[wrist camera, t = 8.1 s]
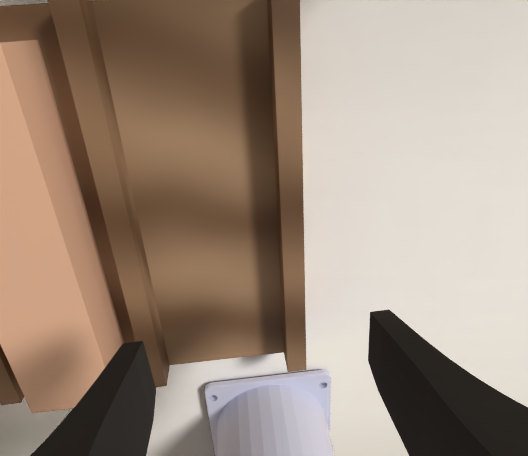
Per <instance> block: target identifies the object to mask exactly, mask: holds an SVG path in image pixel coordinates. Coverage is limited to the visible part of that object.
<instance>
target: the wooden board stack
mask: <svg viewBox="0 0 528 456" xmlns="http://www.w3.org/2000/svg"><path fill="white" fill-rule="evenodd" d="M48 1H49V3H44V4H27V5H11V6H0V43H1V42H15V41H28V40H38V41H39V45H40V48H41V52H42V55H43V59H44V62H45V66H46V69H47V73H48V77H49V80H50V84H51V87H52V91H53V94H54V98H55V101H56V105H57V108H58V112H59V115H60V119H61V122H62V126H63V129H64V133H65V136H66V140H67V143H68V147H69V150H70V154H71V157H72V161H73V164H74V168H75V171H76V175H77V178H78V182H79V185H80V189H81V192H82V196H83V199H84V203H85V206H86V210H87V213H88V217H89V221H90V224H91V228H92V231H93V235H94V238H95V242H96V245H97V249H98V252H99V256H100V259H101V263H102V266H103V270H104V273H105V277H106V280H107V284H108V287H109V291H110V294H111V298H112V301H113V305H114V308H115V312H116V315H117V319H118V322H119V326H120V329H121V333H122V336H123V340H124V343H129V342H137V341H143V343H144V346H145V350H146V354H147V357H148V361H149V365H150V368H151V372H152V376H153V379H154V383H155V387H161V386H166V385H167V379H168V372H169V365H174V364H183V363H192V362H201V361H210V360H219V359H228V358H237V357H245V356H254V355H263V354H272V353H281V352H284V355H285V360H286V365H287V370H288V372H291V371H299V370H306V331H305V274H304V217H303V160H302V103H301V46H300V0H93V1H91V0H48ZM23 398H24V394H23V392H22V390H21V388H20V386H19V384H18V381H17V379H16V377H15V375H14V373H13V371H12V368H11V366H10V364H9V362H8V360H7V357H6V355H5V353H4V351H3V349H2V347H1V344H0V404H1V405H5V404H14V403H21V402H22V400H23Z"/></svg>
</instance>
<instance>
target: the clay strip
mask: <svg viewBox="0 0 528 456" xmlns="http://www.w3.org/2000/svg"><path fill="white" fill-rule="evenodd" d="M123 343H124V340H123V336H122V333H121V329H120V326H119V322H118V319H117V315H116V312H115V308H114V305H113V301H112V298H111V294H110V291H109V287H108V284H107V280H106V277H105V273H104V270H103V266H102V263H101V259H100V256H99V252H98V249H97V245H96V242H95V238H94V235H93V231H92V228H91V224H90V221H89V217H88V213H87V210H86V206H85V203H84V199H83V196H82V192H81V189H80V185H79V182H78V178H77V175H76V171H75V168H74V164H73V161H72V157H71V154H70V150H69V147H68V143H67V140H66V136H65V133H64V129H63V126H62V122H61V119H60V115H59V112H58V108H57V105H56V101H55V98H54V94H53V91H52V87H51V84H50V80H49V77H48V73H47V69H46V66H45V62H44V59H43V55H42V52H41V48H40V45H39V41H38V40H28V41H15V42H1V43H0V344H1V347H2V349H3V351H4V353H5V355H6V357H7V360H8V362H9V364H10V366H11V368H12V371H13V373H14V375H15V377H16V379H17V381H18V384H19V386H20V388H21V390H22V392H23V394H24V397H25V399H26V401H27V403H28V405H29V408H30V410H31V412H32V413H37V412H45V411H54V410H62V409H70V408H74V407H75V406H76V405H77V403H78V402H79V401H80V400H81V399H82V397H83V396H84V395H85V393H86V392H87V391H88V390H89V388H90V387H91V386H92V384H93V383H94V382H95V380H96V379H97V378H98V376H99V375H100V374H101V372H102V371H103V370H104V368H105V367H106V366H107V364H108V363H109V361H110V360H111V359H112V357H113V356H114V355H115V353H116V352H117V350H118V349H119V348H120V346H121V345H122V344H123Z"/></svg>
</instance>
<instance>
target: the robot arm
mask: <svg viewBox="0 0 528 456" xmlns="http://www.w3.org/2000/svg"><path fill="white" fill-rule="evenodd" d="M368 361H369V364H370V367H371V371H372V374H373V377H374V380H375V382H376V385H377V388H378V391H379V393H380V395H381V397H382V399H383V402H384V404H385V406H386V408H387V410H388V412H389V414H390V416H391V418H392V421H393V423H394V425H395V427H396V429H397V431H398V433H399V435H400V437H401V439H402V441H403V443H404V446H405V448H406V450H407V452H408V454H409V456H528V407H526V406H524V405H522V404H520V403H518V402H516V401H515V400H513V399H511V398H509V397H507V396H506V395H504V394H502V393H500V392H499V391H497V390H496V389H494V388H492V387H491V386H489V385H487V384H486V383H484V382H482V381H481V380H479V379H478V378H476V377H475V376H473V375H472V374H470V373H469V372H467V371H466V370H464V369H463V368H461V367H460V366H459V365H457V364H456V363H454V362H453V361H452V360H450V359H449V358H447V357H446V356H445V355H443V354H442V353H441V352H440V351H438V350H437V349H436V348H435V347H433V346H432V345H431V344H429V343H428V342H427V341H426V340H424V339H423V338H422V337H421V336H420V335H418V334H417V333H416V332H415V331H414V330H412V329H411V328H410V327H409V326H408V325H407V324H405V323H404V322H403V321H402V320H401V319H399V318H398V317H397V316H396V315H395V314H394V313H392V312H391V311H390V310H383V311H375V312H370V331H369V355H368ZM323 382H324V383H323ZM321 383H322V384H321ZM155 395H156V387H155V383H154V379H153V376H152V372H151V368H150V365H149V361H148V357H147V354H146V350H145V346H144V343H143V341H137V342H129V343H123V344H122V345H121V346H120V348H119V349H118V350H117V352H116V353H115V355H114V356H113V357H112V359H111V360H110V361H109V363H108V364H107V366H106V367H105V368H104V370H103V371H102V372H101V374H100V375H99V376H98V378H97V379H96V380H95V382H94V383H93V384H92V386H91V387H90V388H89V390H88V391H87V392H86V393H85V395H84V396H83V397H82V399H81V400H80V401H79V402H78V403H77V405H76V406H75V407H74V408H73V409H72V411H71V412H70V413H69V414H68V415H67V416H66V418H65V419H64V420H63V421H62V422H61V424H60V425H59V426H58V427H57V428H56V429H55V430H54V431H53V433H52V434H51V435H50V436H49V437H48V438H47V439H46V440H45V441H44V442H43V443H42V444H41V445H40V446H39V447H38V448H37V449H36V450H35V451H34V452H33V453H32V454H31V455H30V456H146V453H147V448H148V443H149V438H150V434H151V429H152V424H153V417H154V407H155ZM212 395H215V396H212ZM205 399H206V405H207V411H208V416H209V422H210V428H211V434H212V440H213V446H214V451H215V456H336V455H335V452H334V448H333V444H332V440H331V437H330V399H331V377H330V373H329V372H328V371H327V370H315V371H307V372H298V373H289V374H281V375H272V376H263V377H255V378H246V379H238V380H229V381H220V382H212V383H208V384H207V385H206V386H205Z"/></svg>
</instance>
